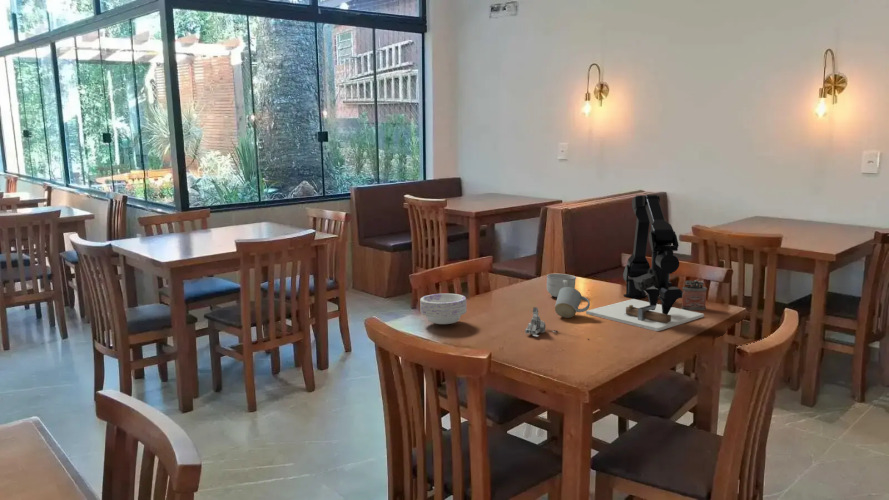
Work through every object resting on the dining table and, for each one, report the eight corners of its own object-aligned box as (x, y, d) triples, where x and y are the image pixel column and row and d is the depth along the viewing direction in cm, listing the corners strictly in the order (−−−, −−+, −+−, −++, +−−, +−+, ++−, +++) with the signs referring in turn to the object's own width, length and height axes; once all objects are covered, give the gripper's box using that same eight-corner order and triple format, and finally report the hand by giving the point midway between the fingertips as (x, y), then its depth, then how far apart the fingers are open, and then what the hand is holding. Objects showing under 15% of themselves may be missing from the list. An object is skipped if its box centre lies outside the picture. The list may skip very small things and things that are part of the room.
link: (623, 313, 222) (624, 305, 222) (629, 311, 225) (629, 303, 224) (665, 323, 211) (666, 314, 210) (671, 321, 213) (671, 312, 212)
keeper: (637, 319, 216) (638, 308, 216) (651, 315, 221) (651, 304, 220) (641, 320, 215) (642, 309, 214) (655, 316, 220) (656, 305, 219)
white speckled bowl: (433, 313, 232) (433, 290, 231) (473, 317, 226) (473, 294, 224) (412, 324, 219) (411, 300, 217) (454, 329, 212) (454, 305, 211)
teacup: (546, 292, 260) (546, 272, 259) (574, 293, 259) (575, 272, 257) (546, 301, 247) (547, 279, 245) (576, 301, 245) (577, 280, 244)
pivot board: (586, 313, 228) (586, 310, 228) (632, 301, 244) (633, 298, 244) (657, 331, 207) (657, 327, 206) (703, 316, 222) (703, 313, 222)
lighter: (704, 307, 234) (705, 279, 233) (707, 310, 231) (708, 281, 229) (680, 307, 235) (681, 279, 233) (682, 309, 232) (684, 281, 230)
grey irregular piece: (549, 338, 202) (549, 313, 201) (522, 334, 207) (522, 310, 205) (559, 330, 210) (559, 306, 209) (533, 327, 214) (533, 303, 213)
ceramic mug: (561, 321, 225) (548, 305, 222) (567, 304, 230) (555, 288, 228) (588, 315, 218) (575, 298, 215) (593, 297, 224) (581, 281, 221)
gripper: (624, 262, 224) (622, 307, 227) (651, 273, 206) (649, 322, 208) (655, 260, 226) (653, 305, 228) (684, 271, 208) (682, 320, 210)
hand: (658, 313), depth 219 cm, fingers open, 7 cm apart
